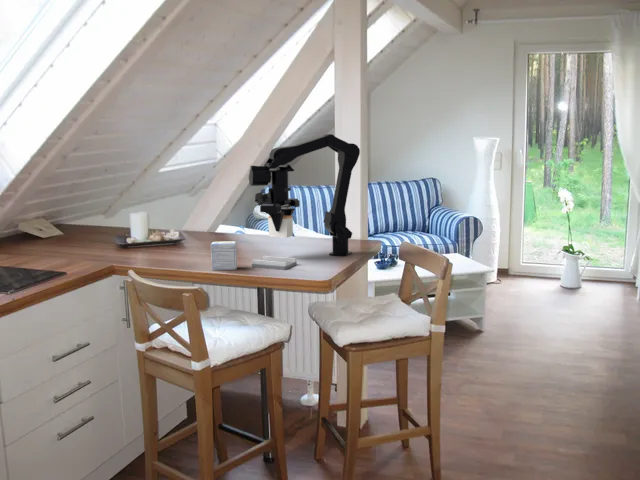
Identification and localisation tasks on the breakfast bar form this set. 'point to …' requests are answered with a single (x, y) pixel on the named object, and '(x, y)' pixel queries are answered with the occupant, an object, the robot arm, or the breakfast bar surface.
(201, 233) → the breakfast bar surface
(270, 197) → the robot arm
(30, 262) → the breakfast bar surface
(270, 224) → the block
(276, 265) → the rail cradle
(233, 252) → the medicine box
